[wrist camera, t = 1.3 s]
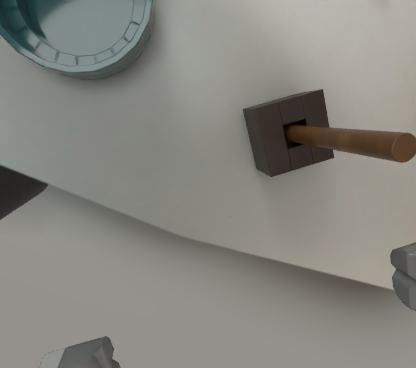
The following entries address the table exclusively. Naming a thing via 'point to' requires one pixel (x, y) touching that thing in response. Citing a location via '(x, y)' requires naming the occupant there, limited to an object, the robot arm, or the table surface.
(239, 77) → the table surface
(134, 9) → the bowl
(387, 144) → the stick
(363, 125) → the table surface
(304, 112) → the stand
